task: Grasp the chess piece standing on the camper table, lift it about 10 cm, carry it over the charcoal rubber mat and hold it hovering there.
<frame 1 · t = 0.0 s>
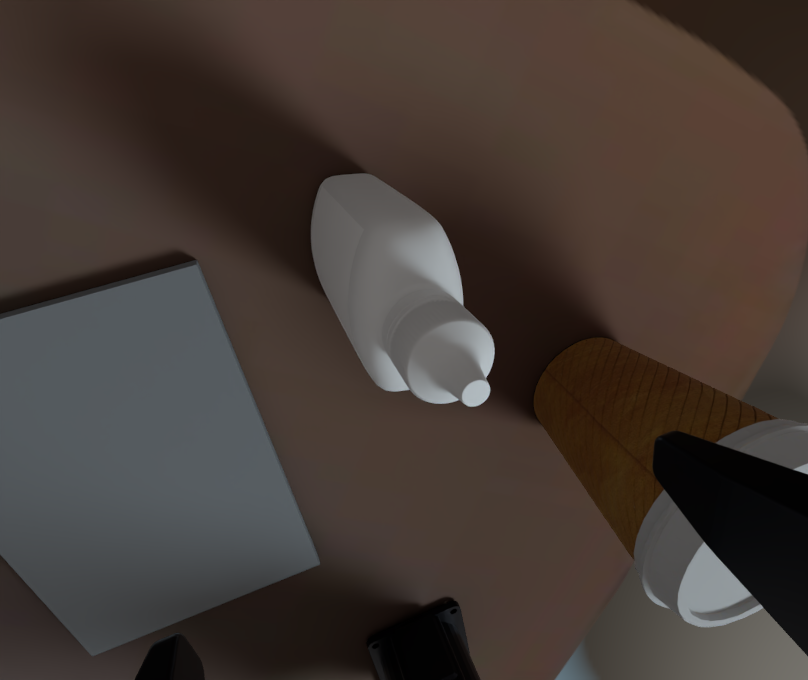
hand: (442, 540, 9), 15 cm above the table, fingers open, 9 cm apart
disposable coffee cup: (579, 384, 30), on the table
eye dropper bottle: (350, 240, 22), on the table
slate mat: (138, 480, 23), on the table
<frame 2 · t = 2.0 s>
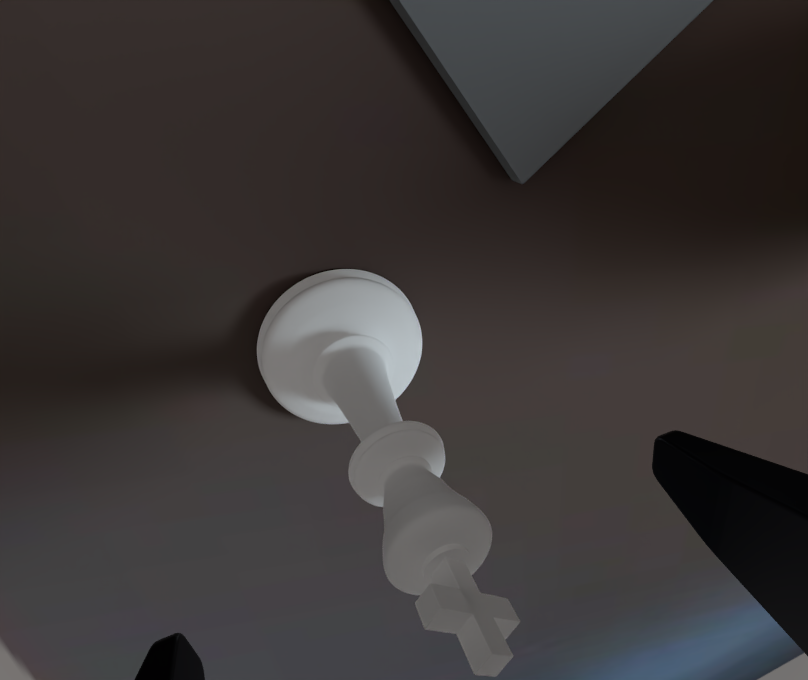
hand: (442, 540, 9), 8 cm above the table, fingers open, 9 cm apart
chess piece: (339, 342, 16), on the table
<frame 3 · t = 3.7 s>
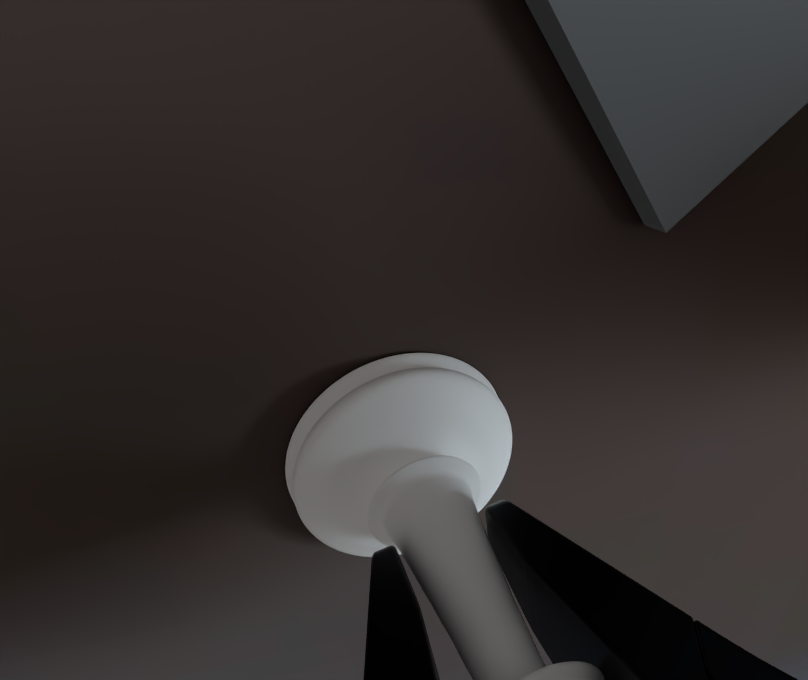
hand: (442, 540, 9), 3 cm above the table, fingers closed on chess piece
chess piece: (396, 445, 12), on the table, touching gripper
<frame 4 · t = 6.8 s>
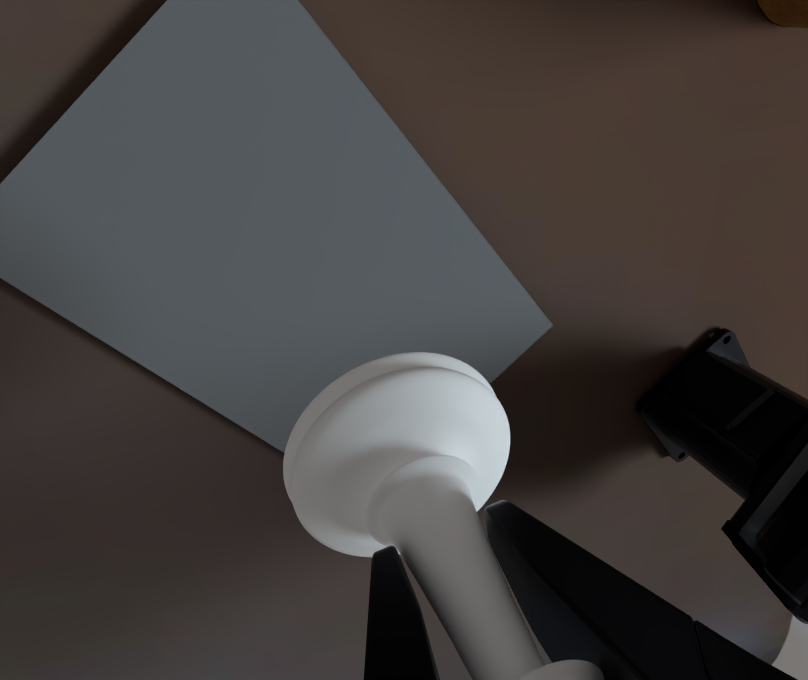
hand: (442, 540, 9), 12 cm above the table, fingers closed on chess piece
chess piece: (394, 445, 11), point 10 cm above the table, touching gripper
slate mat: (315, 288, 20), on the table
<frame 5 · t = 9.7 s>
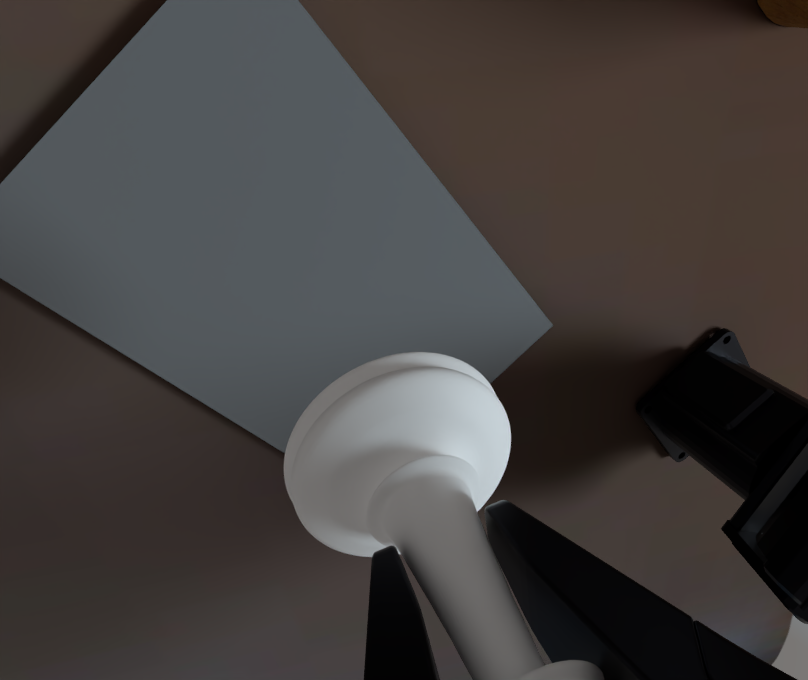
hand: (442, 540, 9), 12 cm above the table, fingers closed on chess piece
chess piece: (395, 445, 11), point 10 cm above the table, touching gripper
slate mat: (315, 288, 20), on the table
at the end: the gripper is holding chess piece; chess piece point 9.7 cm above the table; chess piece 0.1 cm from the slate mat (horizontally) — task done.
